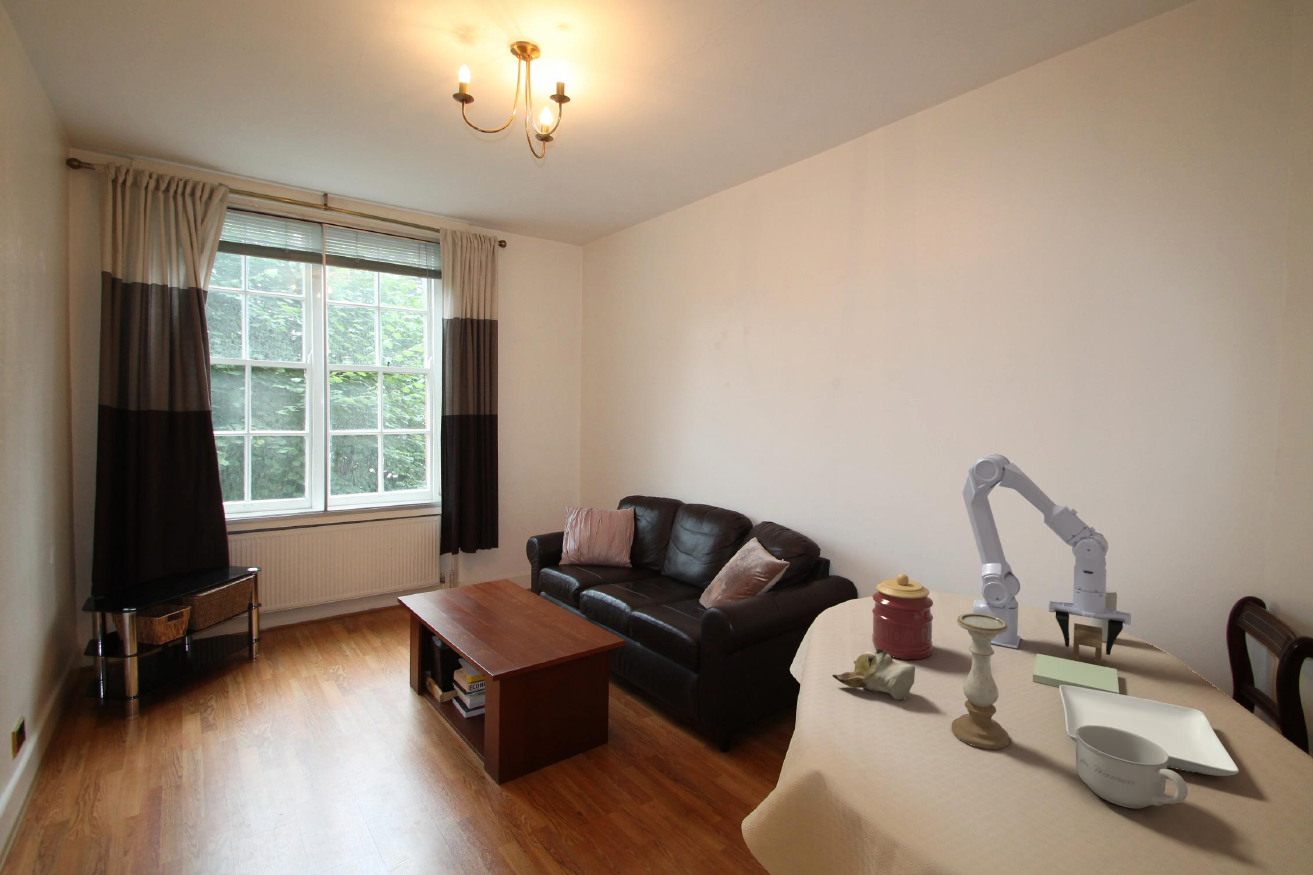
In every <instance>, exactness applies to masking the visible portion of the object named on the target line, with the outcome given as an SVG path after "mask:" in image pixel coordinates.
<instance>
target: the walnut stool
mask: <svg viewBox="0 0 1313 875" xmlns="http://www.w3.org/2000/svg"><path fill="white" fill-rule="evenodd" d="M1080 646H1083V647H1090V648H1095V652H1094V654H1095V658H1094V659H1095V664H1094V665H1098V666H1102V656H1103V655H1102V654H1103V642H1102V628H1101V627H1095V626H1091V625H1087V624H1082V623H1076V622H1075V623H1074V624H1073V647H1072V648H1073V652H1072V661H1078V662H1080V661H1079V658H1080V657H1079V656H1080Z"/></svg>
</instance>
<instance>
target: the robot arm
mask: <svg viewBox="0 0 1313 875" xmlns="http://www.w3.org/2000/svg"><path fill="white" fill-rule="evenodd" d="M967 472H968V474H967V478H966V481H965V484H964V487H963V490H962V496H963V500H964V501H963V502H964V504H965V508H966V511H967V514H968V518H969V522H970V525H971V526H970V527H971V529H972V532H973V537H974V539H975V543H976V544H975V545H976V547H977V551H978V555H979V558H980V561H981V565H982V566H981V580H982V586H981V596H982V598H983V599H974V601H973V604H972V605H973V606H972V613H977V614H985V615H990V616H994V617H997V618H999V619H1001V620H1003V621H1005V622H1006V624H1007V626H1008V630H1007V631H1006V632H1005V633H1002V634H996V637H995V638H994V639H992V641H991V645H998V646H1002V647H1008V648H1013V649H1018V648H1019V645H1020V641H1021V636H1020V635H1018V624H1019V602H1018V601H1017V598H1016V596H1017V595H1018V594H1019V592H1020V590H1021V584H1020V583H1021V582H1020V581H1019V579H1018V577H1016V575H1015V574H1014V573H1013V571H1012V567H1011V565H1010V564H1009V562H1008V561H1007V560H1006V557H1005V553H1004V550H1003V546H1002V543H1001V539H1000V536H999V533H998V532H999V531H998V528H997V526H996V522H995V518H994V514H993V511H992V508H991V505H990V501H989V497H988V496H989V495H990V493H991V492H993V490H994V488H995V487H996V486H997V484H999V485H998V486H999V487H1002V488H1007V489H1012V490H1015V491H1016V492H1017V493H1019V495H1021V496H1022V497H1023V498H1024V499H1026V501H1028V502H1029V503H1030V504H1031V505H1033V507H1035V509H1037V510H1038V511H1039V512H1041V513H1042V514H1043V516H1044V518H1043V520H1044V521H1043V522H1044V524H1045V526H1047V527H1048V528H1049V529H1050V530H1052V531H1053V532H1054V533H1055V535H1056V536H1058V537H1059V538H1060V539H1061V541H1063V542H1064V543H1065V544H1066V545H1068V546H1071V547H1072V548H1071V550H1072V554H1073V555H1074V558H1075V563H1074V564H1075V565H1074V567H1073V590H1072V591H1073V594H1072V602H1062V601H1052V600H1050V601H1049V602H1048V612H1049V613H1055V617H1054V618H1055V619H1056V622H1057V624H1058V626H1059V627H1060V630H1061V632H1062V635H1063V640H1064V647H1066V648H1070V629H1069V628H1070V615H1073V616H1079V617H1083V618H1084V617H1085V618H1090V619H1091V618H1096V619H1102V620H1108V636H1107V642H1105V654H1106V655H1108V656H1111V653H1112V652H1111V651H1112V648H1113V645H1114V643H1115V641H1116V640H1117V638H1118V636H1119V635H1120V634H1121V632H1122V631H1123V629H1124V625H1128V626H1131V625H1132V624H1131V623H1132V622H1131V621H1132V615H1131V614H1132V613H1129V612H1124V611H1119V610H1116V611H1115V610H1111V609H1107V608H1105V594H1106V587H1107V568H1106V567H1107V561H1106V557H1107V553H1108V551H1109V543H1108V541H1107V538H1105V536H1104V534H1102V533H1100V532H1098V531H1096V529H1095V528H1094V527H1093V526H1091V527H1090V526H1089V525H1088V524H1086V522H1084V521H1083V520H1082V519H1081V518H1080V517H1079V516H1078V515H1077V514H1078V512H1077V510H1075V509H1074V508H1069V507H1068V506H1066V505H1060V504H1059V505H1058V504H1056V503H1055V502H1054V501H1053V500H1052V499H1051V498H1050V497H1049V496H1048V495H1047V494H1046V493H1045V492H1044V491H1042V489H1041V488H1040V487H1039V486H1037V484H1036V483H1035V482H1034V481H1033V480H1032V479H1031V478H1029V476H1028V475H1026V474H1025V472H1024V471H1023V470H1022V469H1021V468H1020V467H1019V466H1017V465H1016V464H1015V463H1013V462H1010V460H1009V459H1008V457H1006V456H1004V455H1002V454H998V453H997V454H996V453H995V454H990V455H989V456H985V457H981V458H978V459H977V460H976V461H975V462H974V463H973V464H972V465H971V467H970V468H968V471H967ZM971 640H972V641H973V639H972V638H971Z"/></svg>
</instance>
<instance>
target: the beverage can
mask: <svg viewBox="0 0 1313 875" xmlns="http://www.w3.org/2000/svg"><path fill="white" fill-rule="evenodd" d="M1117 599H1118V594H1117V590H1116V589H1113V588H1110V587H1107V586H1106V594H1105V608H1107V609H1111V610H1115V611H1117V605H1118V604H1117V603H1118V601H1117ZM1090 626H1095V627H1101V628H1102V643H1107V636H1108V620H1102V619H1096V618H1090Z"/></svg>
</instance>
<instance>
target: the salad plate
mask: <svg viewBox="0 0 1313 875" xmlns="http://www.w3.org/2000/svg"><path fill="white" fill-rule="evenodd" d="M1058 688H1059V689H1058V690H1059V694H1060V697H1061V701H1062V706H1063V710H1064V718H1065V730H1066V733H1067V735H1068V736H1069V739H1071V740H1072V741H1073V742H1074V743H1076V741H1077V736H1076V730H1077V729H1078V728H1080V727H1083V726H1086V725H1092V726H1093V725H1096V726H1106V727H1112V728H1117V729H1121V730H1124V731H1128V732H1131V733H1133V734H1136V735H1139V736H1141V737H1144V738H1146V739H1148V740H1150V741H1152V742H1153V743H1155V744H1157V745H1158V746H1160V747H1161V748H1162V749H1163V750H1164V751H1165V752H1166V753H1167V754H1168V756H1169V762H1168V763H1167V766H1168V767H1167V768H1170V767H1173V768H1172V769H1174V768H1178V769H1177V770H1179V769H1184V770H1188V771H1187V772H1189V771H1193V772H1192V773H1195V772H1198V774H1203V775H1209V776H1217V777H1228V776H1234V775H1237V774H1239V772H1240V771H1239V768H1238V766H1237V764H1236V762H1234V760H1233V759H1232V757H1231V756H1230V754H1229V752H1228V751H1227V750H1226V748H1225V746H1224V744H1223V743H1222V742H1221V740H1220V739H1219V737H1218V735H1217V734H1216V733H1215V730H1214V729H1213V727H1212V725H1211V723H1210V721H1209V720H1208V718H1207V716H1206V715H1205V714H1204V712H1203V711H1202V710H1199V709H1197V708H1191V707H1186V706H1182V705H1181V706H1180V705H1177V704H1172V703H1167V702H1162V701H1158V700H1152V699H1147V698H1142V697H1141V698H1140V697H1136V696H1132V695H1126V694H1125V695H1124V694H1121V693H1119V694H1115V693H1109V692H1103V691H1098V690H1092V689H1086V688H1081V687H1075V686H1069V685H1060V686H1059V687H1058Z"/></svg>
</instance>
